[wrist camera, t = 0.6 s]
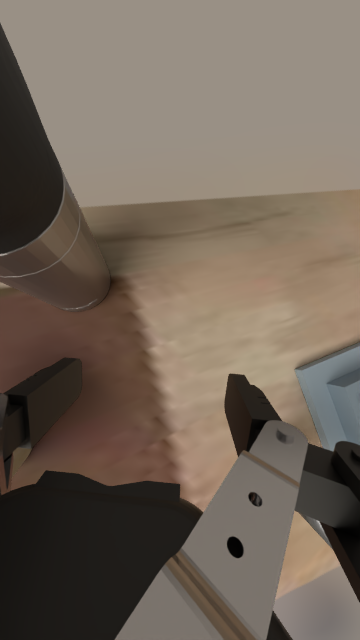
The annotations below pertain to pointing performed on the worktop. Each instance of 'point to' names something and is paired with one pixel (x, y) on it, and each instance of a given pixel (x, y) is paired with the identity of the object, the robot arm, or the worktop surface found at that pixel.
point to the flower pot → (19, 458)
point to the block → (334, 395)
